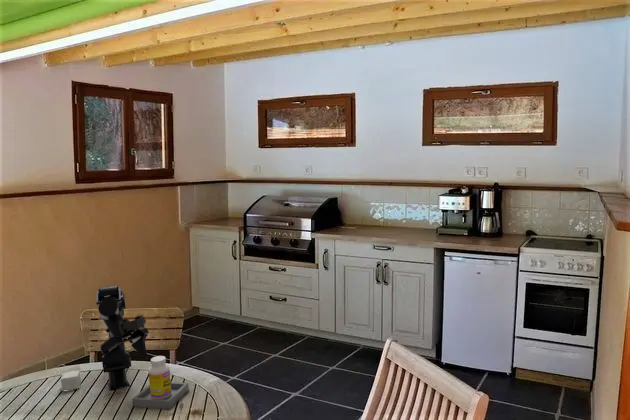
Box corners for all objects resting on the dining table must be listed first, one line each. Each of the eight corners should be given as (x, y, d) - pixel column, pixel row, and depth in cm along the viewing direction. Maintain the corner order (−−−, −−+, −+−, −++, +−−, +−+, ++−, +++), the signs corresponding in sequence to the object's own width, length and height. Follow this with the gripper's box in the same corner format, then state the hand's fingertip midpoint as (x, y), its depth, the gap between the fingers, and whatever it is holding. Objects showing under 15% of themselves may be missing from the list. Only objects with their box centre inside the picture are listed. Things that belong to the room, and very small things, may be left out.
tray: (132, 406, 168) (132, 398, 168) (154, 387, 180) (153, 380, 180) (169, 409, 165) (168, 401, 164) (188, 390, 177) (188, 383, 177)
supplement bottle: (165, 401, 169) (162, 363, 167) (146, 400, 170) (143, 362, 169) (175, 391, 175) (172, 354, 174) (157, 390, 177) (153, 354, 175)
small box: (64, 385, 186) (62, 372, 186) (81, 382, 188) (80, 369, 187) (61, 392, 181) (60, 378, 180) (79, 389, 182) (78, 376, 182)
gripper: (113, 312, 165) (138, 355, 162) (148, 304, 183) (171, 342, 180) (89, 332, 167) (113, 374, 164) (125, 321, 185) (148, 359, 182)
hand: (138, 361), depth 172 cm, fingers open, 9 cm apart
